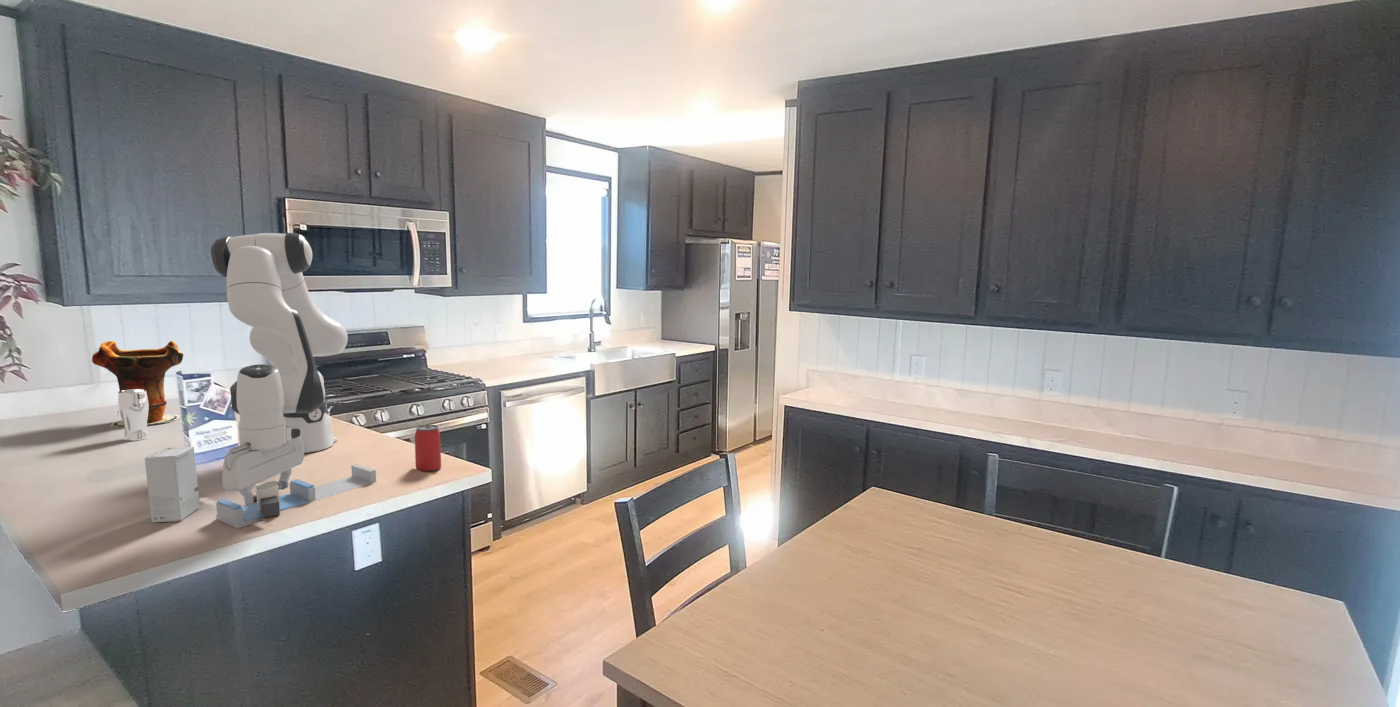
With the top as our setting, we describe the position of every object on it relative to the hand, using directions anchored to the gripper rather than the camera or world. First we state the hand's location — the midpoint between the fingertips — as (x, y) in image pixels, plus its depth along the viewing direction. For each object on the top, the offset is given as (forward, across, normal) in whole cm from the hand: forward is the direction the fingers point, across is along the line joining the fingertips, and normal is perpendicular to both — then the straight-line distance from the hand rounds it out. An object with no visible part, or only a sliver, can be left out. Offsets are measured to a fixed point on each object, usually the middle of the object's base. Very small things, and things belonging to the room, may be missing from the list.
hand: (267, 495), depth 147 cm
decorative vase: (+4, +62, +96) cm, 114 cm away
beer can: (+4, +35, -20) cm, 40 cm away
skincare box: (+4, -6, +18) cm, 19 cm away
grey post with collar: (+2, 0, 0) cm, 3 cm away
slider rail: (+4, +7, -3) cm, 9 cm away
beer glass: (+4, +44, +80) cm, 91 cm away
